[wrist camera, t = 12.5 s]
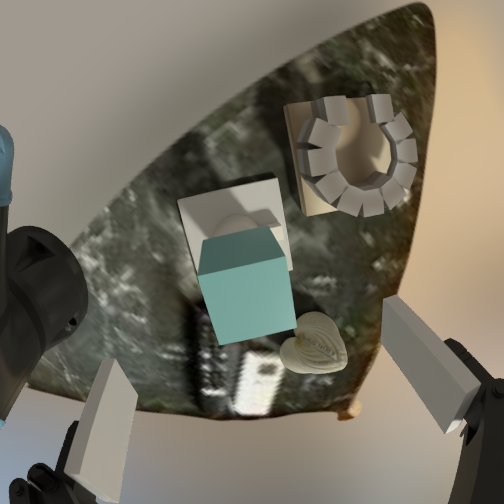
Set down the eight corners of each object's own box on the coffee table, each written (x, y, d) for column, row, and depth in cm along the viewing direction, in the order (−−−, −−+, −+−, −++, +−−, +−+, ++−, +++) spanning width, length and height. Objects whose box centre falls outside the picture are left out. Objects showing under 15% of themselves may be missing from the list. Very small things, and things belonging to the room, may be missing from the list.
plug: (218, 266, 31) (219, 345, 19) (206, 218, 29) (197, 276, 17) (283, 251, 31) (323, 320, 19) (275, 203, 29) (315, 249, 17)
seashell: (309, 299, 32) (369, 336, 30) (305, 306, 40) (353, 335, 38) (268, 361, 30) (329, 398, 28) (273, 355, 38) (321, 385, 36)
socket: (301, 211, 30) (318, 227, 25) (282, 106, 26) (297, 98, 21) (391, 194, 30) (420, 205, 25) (379, 98, 26) (408, 93, 21)
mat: (202, 287, 32) (202, 289, 32) (178, 199, 28) (177, 200, 28) (291, 267, 32) (292, 269, 32) (276, 177, 29) (277, 178, 28)
